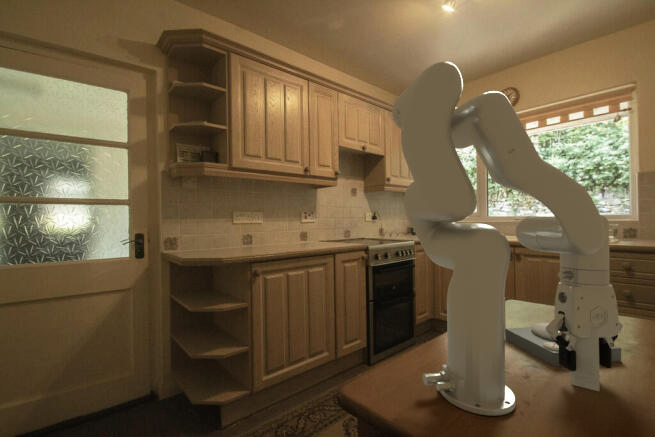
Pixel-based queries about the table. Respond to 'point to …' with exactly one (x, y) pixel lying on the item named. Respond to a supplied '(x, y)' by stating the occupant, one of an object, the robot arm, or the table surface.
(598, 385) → the skincare box
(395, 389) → the table surface
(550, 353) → the kitchen scale
